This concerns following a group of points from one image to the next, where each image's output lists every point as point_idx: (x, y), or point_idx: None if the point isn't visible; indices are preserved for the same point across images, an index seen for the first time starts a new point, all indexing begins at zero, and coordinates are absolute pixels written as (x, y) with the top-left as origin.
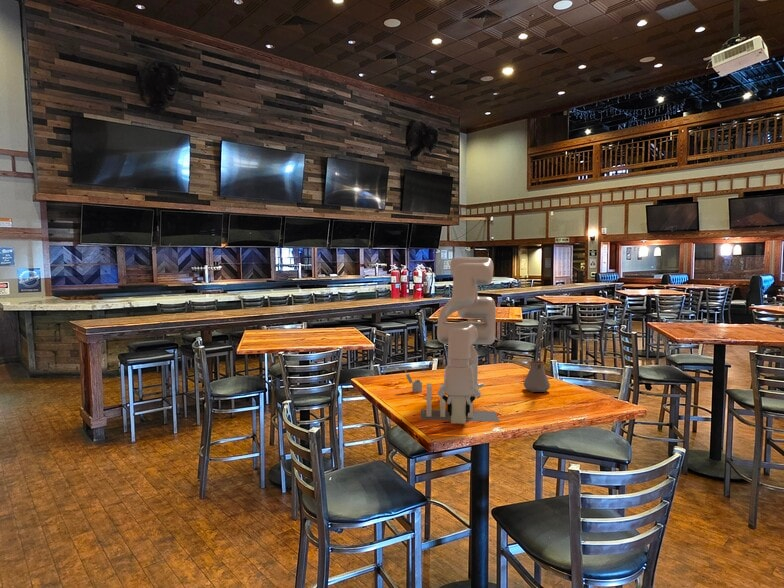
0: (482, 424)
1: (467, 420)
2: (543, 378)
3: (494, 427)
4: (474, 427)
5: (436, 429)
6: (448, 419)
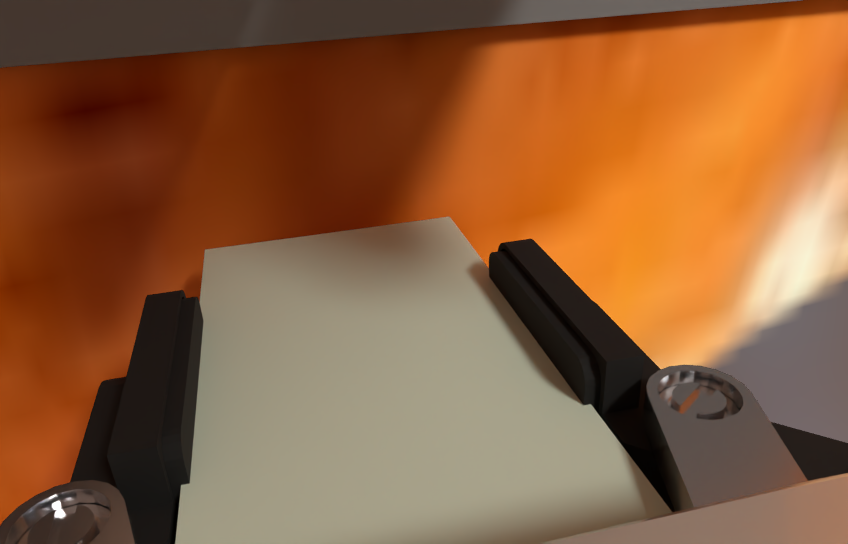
0: (681, 107)
1: (484, 11)
2: None
3: (797, 199)
4: (553, 257)
5: (20, 462)
6: (123, 7)
